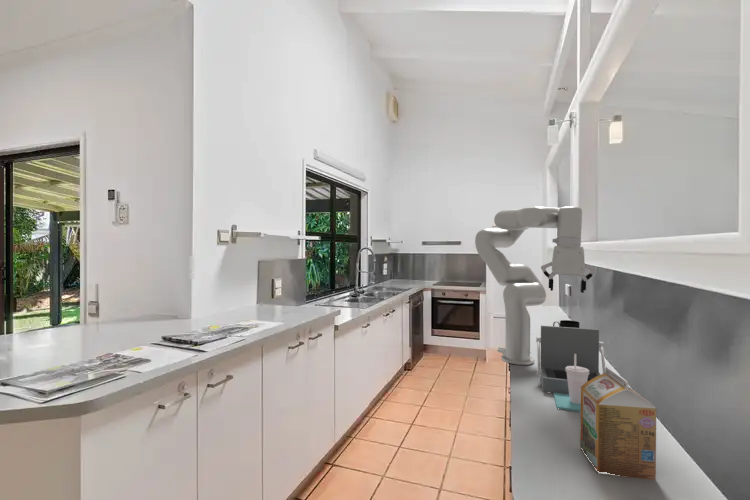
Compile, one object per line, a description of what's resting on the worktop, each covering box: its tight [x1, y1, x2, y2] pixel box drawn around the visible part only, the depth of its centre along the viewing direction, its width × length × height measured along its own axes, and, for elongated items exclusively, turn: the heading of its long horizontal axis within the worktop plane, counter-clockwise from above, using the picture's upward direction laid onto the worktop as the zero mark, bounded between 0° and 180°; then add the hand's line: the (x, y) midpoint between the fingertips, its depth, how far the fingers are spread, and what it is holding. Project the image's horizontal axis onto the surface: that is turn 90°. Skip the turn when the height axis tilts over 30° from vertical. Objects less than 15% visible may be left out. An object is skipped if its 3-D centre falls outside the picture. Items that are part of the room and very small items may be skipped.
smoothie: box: [565, 354, 590, 404], centre depth 117 cm, size 6×6×14 cm
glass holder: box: [552, 319, 580, 328], centre depth 171 cm, size 9×14×15 cm, turn 15°
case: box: [536, 325, 606, 394], centre depth 131 cm, size 21×15×18 cm
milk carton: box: [579, 366, 657, 481], centre depth 85 cm, size 11×11×19 cm
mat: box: [553, 393, 581, 413], centre depth 117 cm, size 12×12×1 cm
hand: (566, 291), depth 140 cm, fingers open, 9 cm apart
